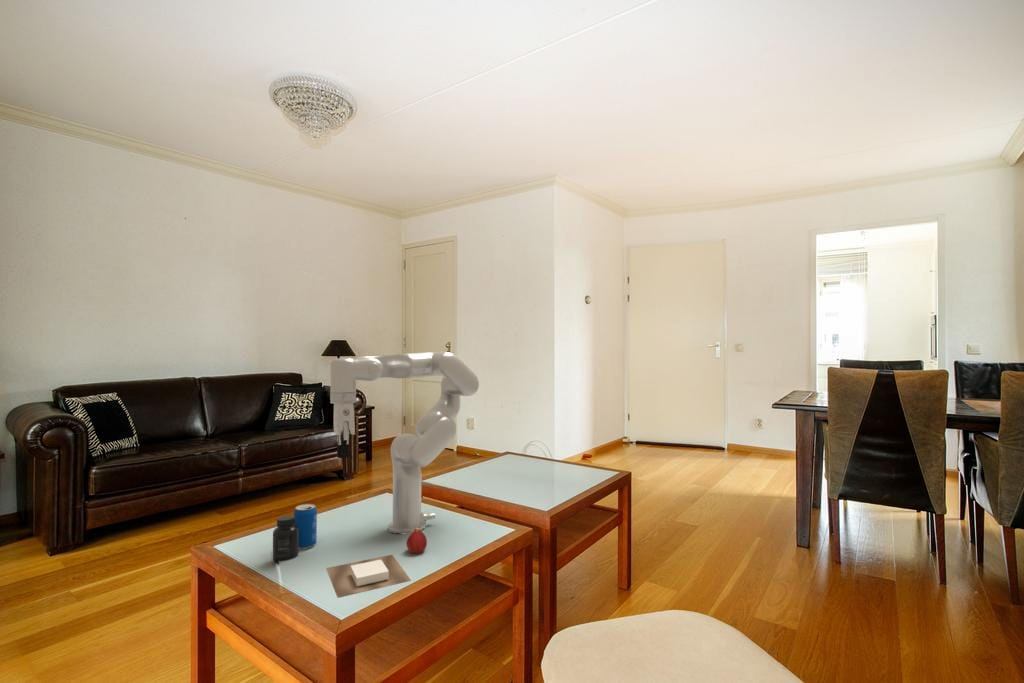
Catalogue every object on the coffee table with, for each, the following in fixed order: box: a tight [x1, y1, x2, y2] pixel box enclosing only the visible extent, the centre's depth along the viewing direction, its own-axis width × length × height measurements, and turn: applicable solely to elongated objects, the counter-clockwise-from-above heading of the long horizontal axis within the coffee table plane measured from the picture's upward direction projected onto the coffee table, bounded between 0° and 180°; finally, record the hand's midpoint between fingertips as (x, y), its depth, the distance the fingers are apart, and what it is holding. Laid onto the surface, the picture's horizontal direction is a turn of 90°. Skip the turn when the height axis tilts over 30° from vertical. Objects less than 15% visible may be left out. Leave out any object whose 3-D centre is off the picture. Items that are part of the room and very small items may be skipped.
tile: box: [350, 560, 389, 586], centre depth 126 cm, size 8×2×8 cm
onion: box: [406, 528, 428, 554], centre depth 143 cm, size 6×6×8 cm
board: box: [325, 554, 412, 599], centre depth 128 cm, size 18×18×1 cm
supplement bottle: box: [272, 515, 300, 565], centre depth 140 cm, size 7×7×12 cm
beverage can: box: [293, 503, 318, 550], centre depth 150 cm, size 6×6×12 cm
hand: (342, 457), depth 150 cm, fingers closed
